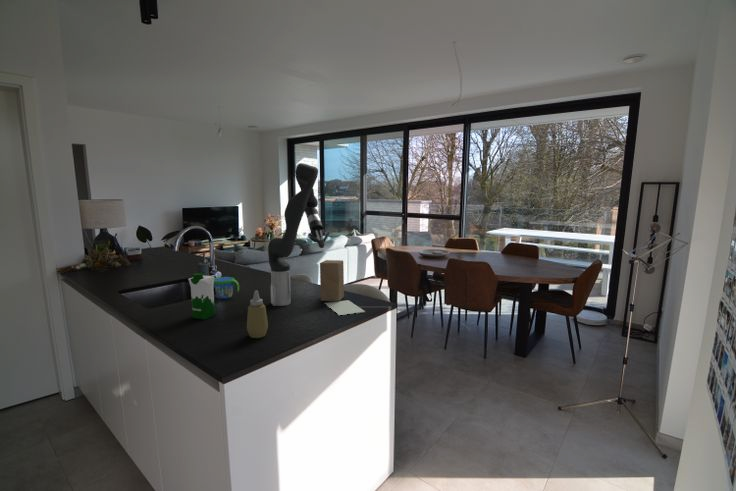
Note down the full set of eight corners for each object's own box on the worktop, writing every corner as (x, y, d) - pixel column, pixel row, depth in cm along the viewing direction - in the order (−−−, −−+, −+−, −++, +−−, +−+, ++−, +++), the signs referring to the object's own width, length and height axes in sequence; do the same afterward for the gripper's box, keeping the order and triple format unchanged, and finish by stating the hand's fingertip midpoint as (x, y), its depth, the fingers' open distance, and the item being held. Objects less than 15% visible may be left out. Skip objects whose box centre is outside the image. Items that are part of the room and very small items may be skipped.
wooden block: (339, 301, 187) (338, 263, 185) (320, 301, 189) (319, 262, 187) (344, 297, 197) (343, 260, 195) (326, 296, 199) (325, 259, 197)
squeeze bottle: (249, 332, 147) (247, 288, 144) (270, 331, 147) (268, 288, 145) (244, 340, 139) (242, 293, 136) (266, 339, 139) (264, 293, 137)
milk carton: (188, 318, 163) (185, 274, 160) (203, 312, 171) (201, 270, 168) (204, 320, 160) (201, 275, 157) (219, 314, 168) (216, 271, 166)
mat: (339, 315, 167) (339, 315, 167) (324, 304, 185) (324, 303, 185) (365, 312, 172) (365, 311, 172) (348, 300, 191) (348, 300, 191)
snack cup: (243, 295, 201) (242, 277, 199) (233, 300, 190) (233, 281, 189) (215, 294, 202) (214, 276, 201) (205, 299, 192) (204, 280, 190)
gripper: (305, 219, 208) (312, 243, 198) (327, 219, 213) (335, 242, 204) (302, 228, 213) (309, 251, 204) (324, 227, 219) (331, 250, 209)
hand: (322, 247), depth 204 cm, fingers closed
